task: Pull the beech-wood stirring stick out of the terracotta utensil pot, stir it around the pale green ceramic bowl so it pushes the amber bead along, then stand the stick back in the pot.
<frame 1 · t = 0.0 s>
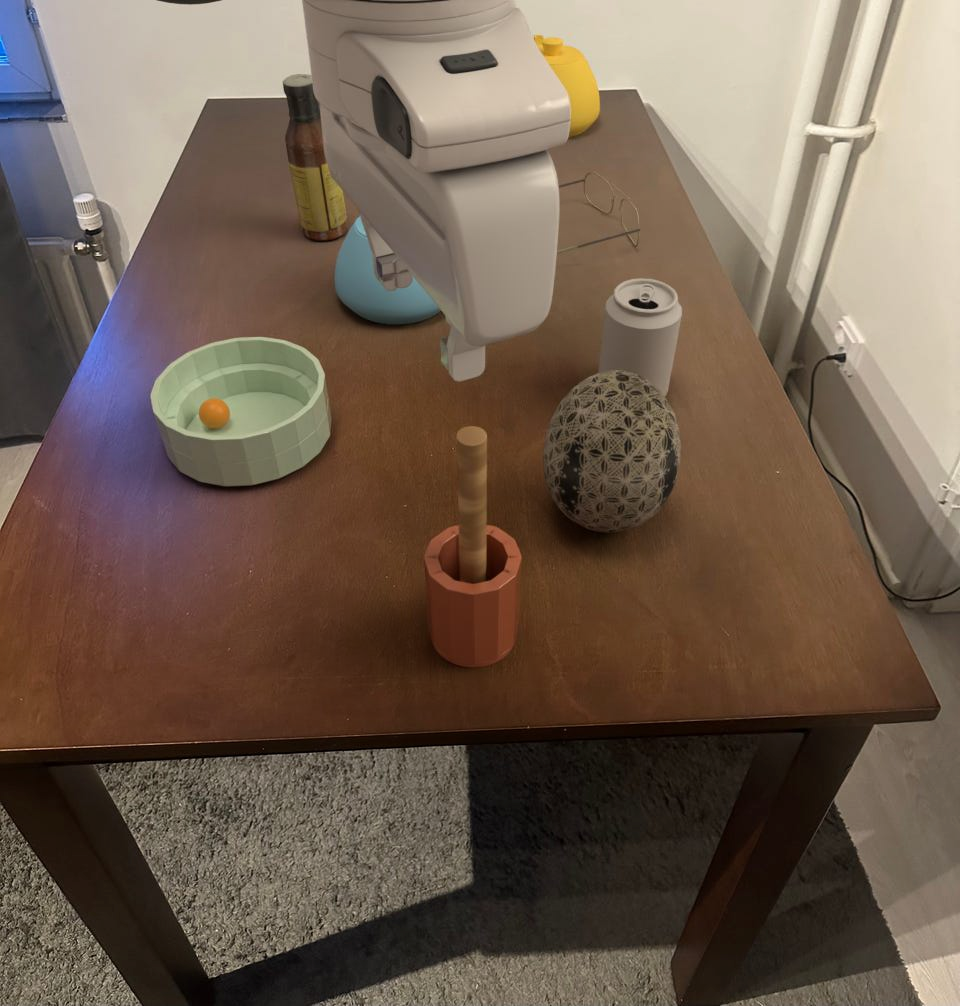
hand: (426, 324, 48), 31 cm above the table, tool pointing down, fingers open, 8 cm apart
sauce bottle: (324, 233, 120), on the table
bowl: (250, 436, 89), on the table
sugar bowl: (399, 298, 109), on the table
teapot: (539, 120, 149), on the table
decorative egg: (603, 515, 82), on the table
utensil pot: (473, 631, 72), on the table
stirring stick: (473, 627, 71), point 1 cm above the table, touching utensil pot
can: (631, 393, 95), on the table
eyeglasses: (568, 234, 120), on the table
bead: (214, 413, 88), point 2 cm above the table, touching bowl
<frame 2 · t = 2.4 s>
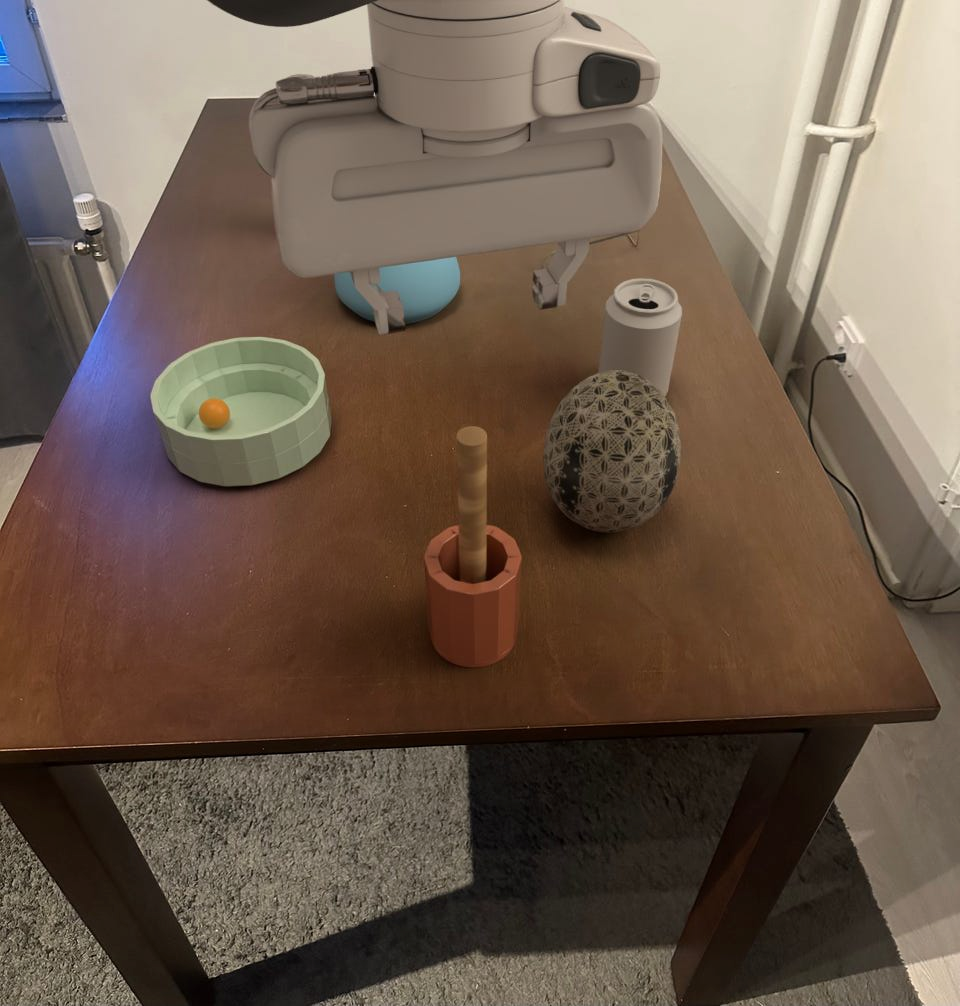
hand: (470, 315, 51), 30 cm above the table, tool pointing down, fingers open, 8 cm apart
nothing on the table moved.
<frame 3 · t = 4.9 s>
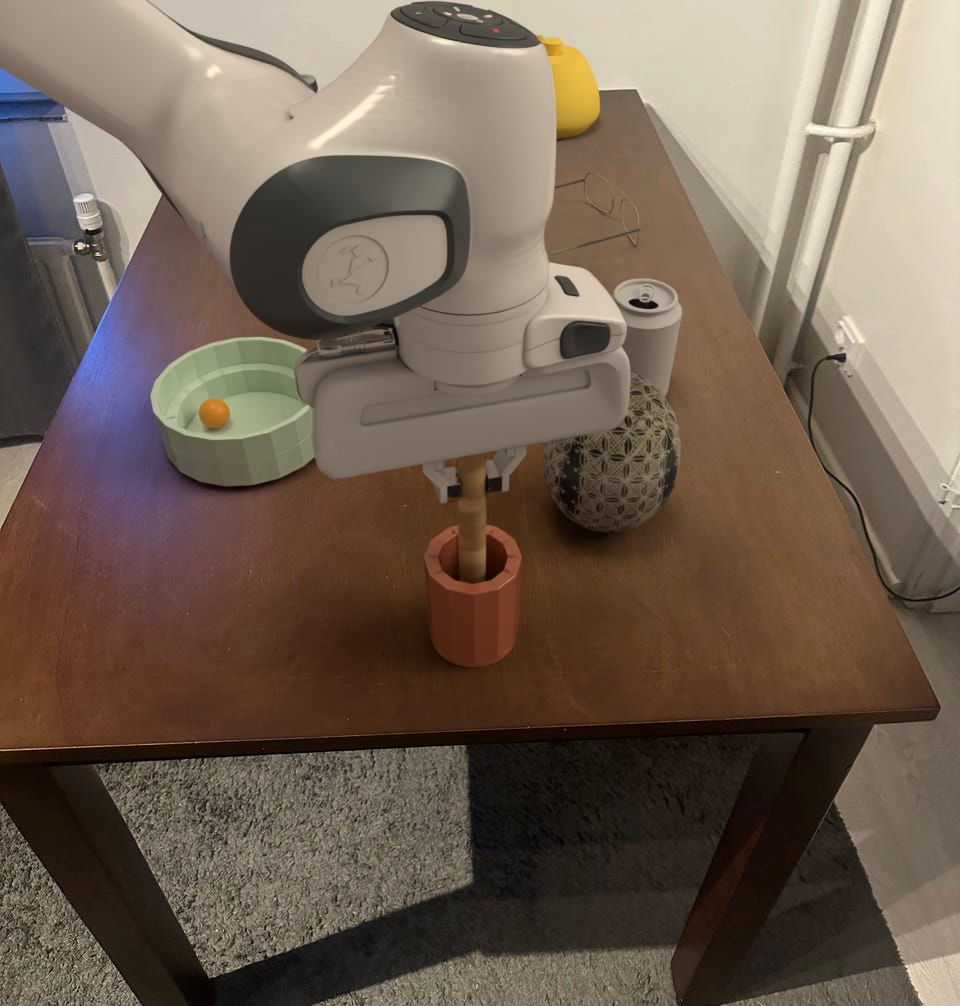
hand: (471, 491, 61), 16 cm above the table, tool pointing down, fingers closed on stirring stick, 2 cm apart
stirring stick: (473, 627, 71), point 1 cm above the table, touching gripper, utensil pot
everything else where it was.
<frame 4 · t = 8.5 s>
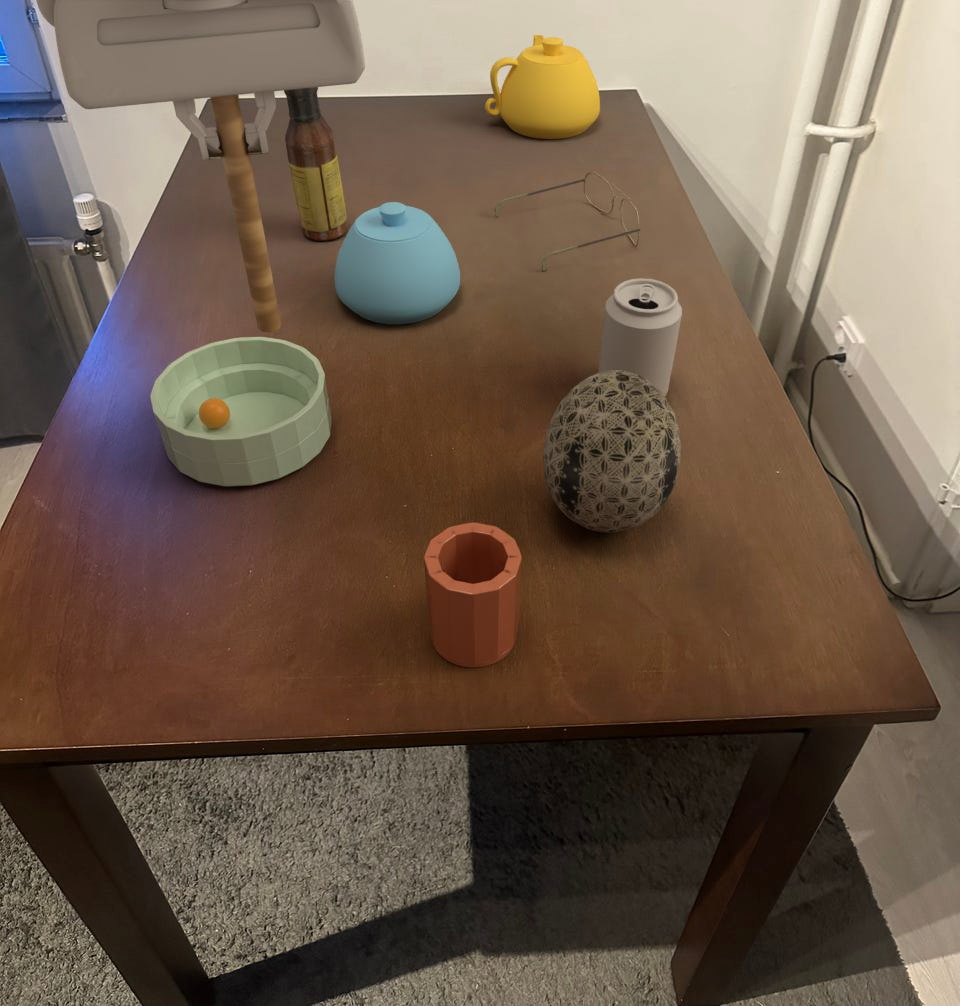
hand: (235, 154, 66), 30 cm above the table, tool pointing down, fingers closed on stirring stick
stirring stick: (269, 326, 77), point 15 cm above the table, touching gripper
everything else where it was.
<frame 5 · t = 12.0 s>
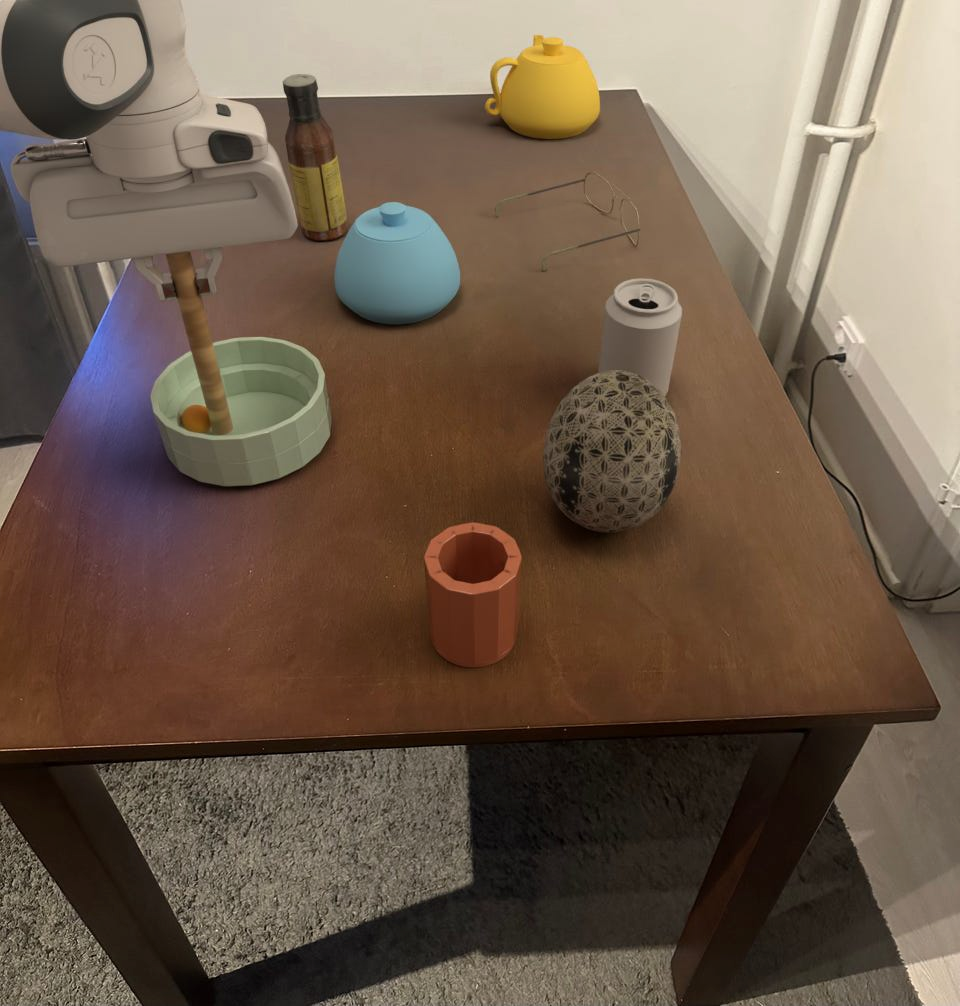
hand: (188, 294, 77), 17 cm above the table, tool pointing down, fingers closed on stirring stick, 2 cm apart
stirring stick: (222, 428, 88), point 2 cm above the table, touching gripper
bead: (197, 419, 88), point 2 cm above the table, tilted 62°, touching bowl
everything else where it was.
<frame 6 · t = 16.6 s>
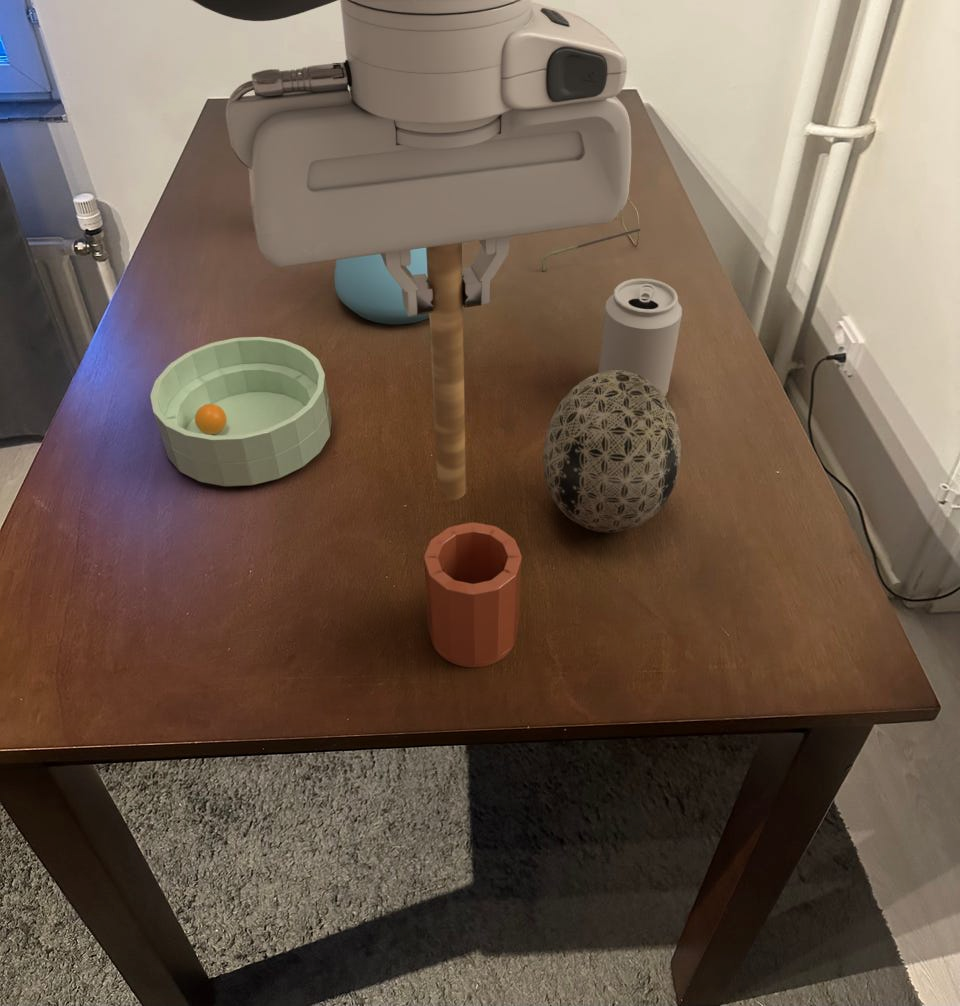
hand: (446, 305, 52), 29 cm above the table, tool pointing down, fingers closed on stirring stick
stirring stick: (451, 490, 63), point 14 cm above the table, touching gripper
bead: (210, 419, 88), point 2 cm above the table, tilted 12°, touching bowl
everything else where it was.
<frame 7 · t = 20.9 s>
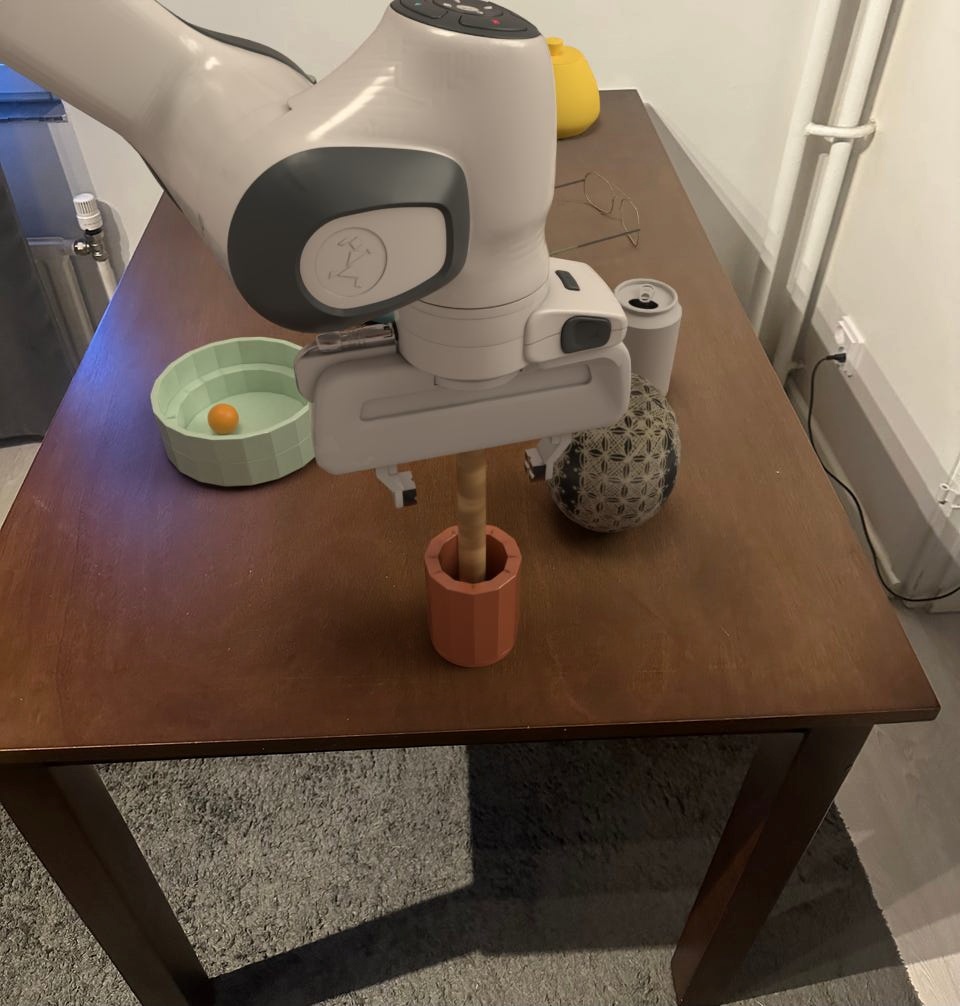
hand: (472, 487, 61), 16 cm above the table, tool pointing down, fingers open, 8 cm apart
stirring stick: (473, 626, 71), point 1 cm above the table, touching utensil pot
bead: (223, 418, 88), point 2 cm above the table, tilted 35°, touching bowl
everything else where it was.
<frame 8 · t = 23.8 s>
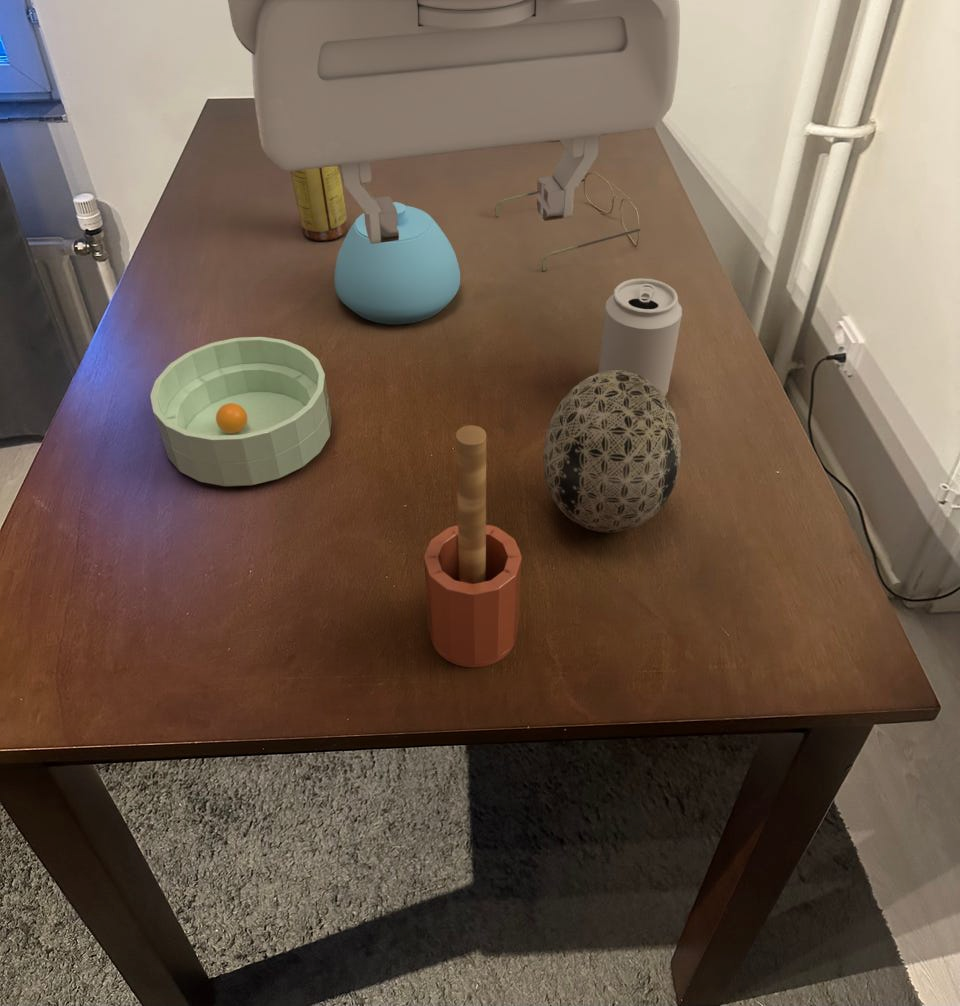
hand: (469, 226, 47), 35 cm above the table, tool pointing down, fingers open, 8 cm apart
bead: (231, 418, 88), point 2 cm above the table, tilted 66°, touching bowl
everything else where it was.
at the end: bead moved 2.1 cm from its start; bead inside the target area in the bowl (1.5 cm from its centre), point 2.3 cm above the bowl's base; stirring stick 0.1 cm off-centre in the utensil pot, point 0.6 cm above the utensil pot's base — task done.
